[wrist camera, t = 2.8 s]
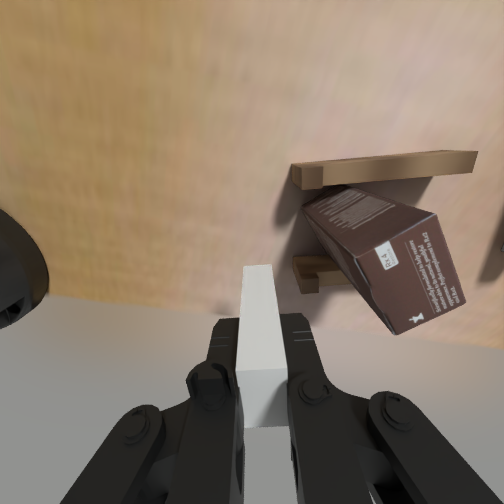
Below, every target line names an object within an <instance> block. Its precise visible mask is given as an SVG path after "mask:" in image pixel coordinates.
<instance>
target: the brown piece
mask: <svg viewBox="0 0 504 504" xmlns="http://www.w3.org/2000/svg"><path fill="white" fill-rule="evenodd" d="M477 154H478V151H451V150H440V151H429V152H418V153H407V154H396V155H385V156H374V157H363V158H351V159H340V160H329V161H318V162H307V163H296V164H292V182H293V183H294V184H295V185H297V186H298V187H299V188H300V189H301V190H308V189H320V188H323V186H326V185H337V184H349V183H360V182H372V181H383V180H395V179H406V178H417V177H429V176H440V175H452V174H463V173H472V171H473V168H474V164H475V161H476V158H477ZM293 271H294V274H295V277H296V280H297V282H298V285H299V288H300V291H301V294H309V293H319V286H330V285H343V284H352V283H351V282H350V281H349V280H348V279H347V277H346V276H345V275H344V274H343V273H342V271H341V270H340V269H339V268H338V266H337V265H336V264H335V263H334V262H333V260H332V259H331V258H330V257H329V255H328V254H325V255H312V256H300V257H293Z"/></svg>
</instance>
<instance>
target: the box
mask: <svg viewBox="0 0 504 504" xmlns="http://www.w3.org/2000/svg"><path fill="white" fill-rule="evenodd" d="M301 209H302V211H303V213H304V215H305V217H306V219H307V220H308V222H309V224H310V226H311V227H312V229H313V231H314V233H315V234H316V236H317V238H318V240H319V241H320V243H321V245H322V246H323V248H324V250H325V251H326V253H327V254H328V255H329V257H330V258H331V259H332V260H333V262H334V263H335V264H336V265H337V266H338V268H339V269H340V270H341V271H342V273H343V274H344V275H345V276H346V277H347V279H348V280H349V281H350V282H351V283H352V285H353V286H354V287H355V288H356V290H357V291H358V292H359V293H360V295H361V296H362V297H363V298H364V300H365V301H366V302H367V303H368V305H369V306H370V307H371V308H372V309H373V311H374V312H375V313H376V314H377V316H378V317H379V318H380V319H381V320H382V322H383V323H384V324H385V325H386V326H387V328H388V329H389V330H390V331H391V332H392V334H393V335H399V334H401V333H403V332H405V331H408V330H410V329H412V328H414V327H416V326H418V325H420V324H423V323H425V322H427V321H429V320H431V319H434V318H436V317H438V316H440V315H442V314H445V313H447V312H449V311H451V310H453V309H455V308H457V307H459V306H461V305H463V304H465V303H466V300H465V297H464V294H463V291H462V288H461V285H460V282H459V279H458V276H457V273H456V270H455V267H454V264H453V261H452V258H451V255H450V252H449V250H448V247H447V244H446V241H445V238H444V235H443V232H442V230H441V227H440V223H439V221H438V217H437V215H436V214H435V213H431V212H427V211H424V210H421V209H417V208H415V207H411V206H408V205H405V204H402V203H399V202H395V201H393V200H390V199H387V198H383V197H380V196H377V195H374V194H371V193H368V192H365V191H362V190H359V189H356V188H353V187H350V186H347V185H343V184H337V185H335V186H334V187H332V188H330V189H329V190H327V191H326V192H324V193H322V194H321V195H319V196H317V197H316V198H314V199H313V200H311V201H309V202H308V203H306V204H305V205H303V206H302V207H301Z"/></svg>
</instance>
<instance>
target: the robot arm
mask: <svg viewBox="0 0 504 504" xmlns="http://www.w3.org/2000/svg"><path fill="white" fill-rule="evenodd" d="M47 283H48V277H47V270H46V266H45V263H44V260H43V257H42V255H41V253H40V251H39V249H38V248H37V246H36V245H35V243H34V242H33V240H32V239H31V237H30V236H29V235H28V234H27V232H26V231H25V230H24V229H23V228H22V227H21V226H20V225H19V224H18V223H17V222H16V221H15V220H14V219H13V218H12V217H10V216H9V215H8V214H7V213H5V212H4V211H3V210H1V209H0V329H2V328H4V327H7V326H9V325H11V324H12V323H14V322H16V321H18V320H19V319H20V318H22V317H23V316H25V315H26V314H27V313H29V312H30V311H31V310H33V309H34V308H35V307H36V306H37V305H38V304H39V303H40V302H41V301H42V299H43V297H44V295H45V293H46V290H47ZM186 384H187V387H188V390H189V394H190V398H189V399H188V400H186V401H185V402H183V403H180V404H178V405H176V406H174V407H171V408H168V409H165V410H163V411H159V409H158V408H157V407H155V406H153V405H141V406H138V407H136V408H133V409H132V410H130V411H129V412H128V413H126V414H125V415H124V416H123V417H122V418H121V419H120V420H119V421H118V422H117V424H116V425H115V426H114V427H113V429H112V430H111V432H110V433H109V435H108V436H107V437H106V439H105V440H104V442H103V443H102V445H101V446H100V447H99V449H98V450H97V451H96V453H95V454H94V456H93V457H92V459H91V460H90V461H89V463H88V464H87V466H86V467H85V468H84V470H83V471H82V473H81V474H80V476H79V477H78V478H77V480H76V481H75V483H74V484H73V486H72V487H71V488H70V490H69V491H68V493H67V494H66V495H65V497H64V498H63V500H62V501H61V503H60V504H243V502H244V465H245V446H244V439H243V434H244V426H245V428H254V427H274V426H289V429H290V437H291V460H293V468H294V476H295V485H296V493H297V501H298V504H373V502H372V499H371V496H370V493H371V495H372V497H373V499H374V501H375V503H376V504H503V503H502V501H501V500H500V499H499V498H498V497H497V496H496V495H495V494H494V492H493V491H492V490H491V489H490V488H489V487H488V486H487V485H486V484H485V482H484V481H483V480H482V479H481V478H480V477H479V475H478V474H477V473H476V472H475V471H474V470H473V469H472V468H471V467H470V465H469V464H468V463H467V462H466V461H465V460H464V459H463V457H462V456H461V455H460V454H459V453H458V452H457V451H456V450H455V449H454V447H453V446H452V445H451V444H450V443H449V442H448V441H447V439H446V438H445V437H444V436H443V435H442V434H441V433H440V432H439V431H438V429H437V428H436V427H435V426H434V425H433V424H432V423H431V421H430V420H429V419H428V418H427V417H426V416H425V415H424V414H423V413H422V411H421V410H420V409H419V408H418V407H417V406H416V405H415V404H413V403H412V402H411V401H410V400H409V399H407V398H405V397H403V396H401V395H400V394H397V393H393V392H389V391H383V392H378V393H376V394H374V395H373V396H372V397H371V399H370V400H369V399H366V398H362V397H358V396H354V395H351V394H348V393H345V392H343V391H341V390H339V389H338V388H336V387H335V386H334V385H333V384H332V383H331V382H330V381H329V380H328V378H327V376H326V374H325V372H324V369H323V366H322V363H321V360H320V356H319V353H318V350H317V347H316V344H315V341H314V338H313V335H312V332H311V328H310V325H309V322H308V320H307V319H306V318H305V317H304V316H303V315H302V314H301V313H291V314H279V311H278V305H277V298H276V292H275V285H274V279H273V272H272V266H271V264H266V265H252V266H244V270H243V283H242V295H241V308H240V318H226V319H219V321H218V322H217V323H216V325H215V326H214V328H213V331H212V336H211V341H210V346H209V350H208V354H207V359H206V361H204V362H202V363H200V364H198V365H197V366H195V367H194V368H193V369H192V370H191V371H190V372H189V374H188V377H187V378H186ZM368 489H369V490H368ZM369 491H370V493H369Z"/></svg>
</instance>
